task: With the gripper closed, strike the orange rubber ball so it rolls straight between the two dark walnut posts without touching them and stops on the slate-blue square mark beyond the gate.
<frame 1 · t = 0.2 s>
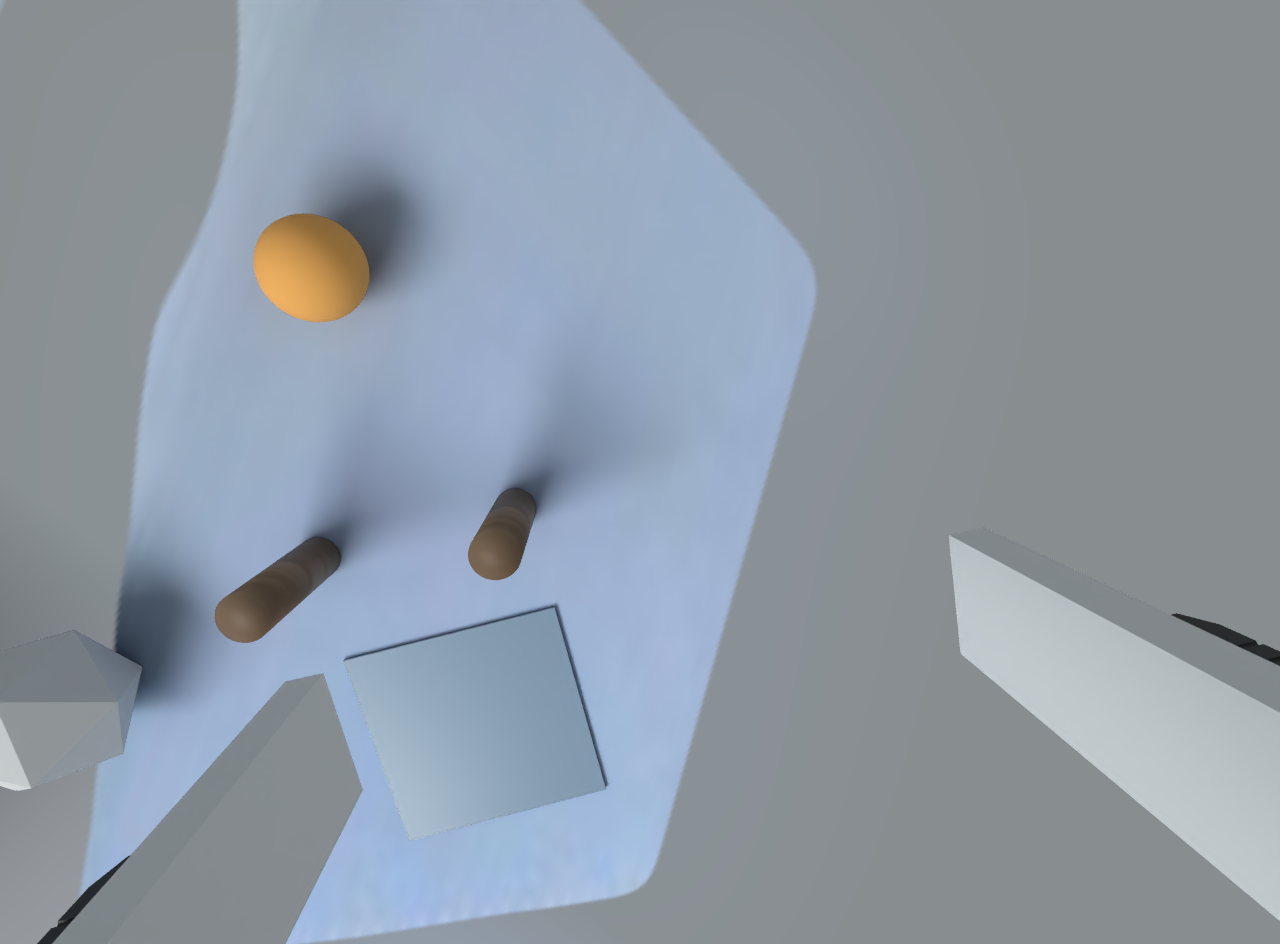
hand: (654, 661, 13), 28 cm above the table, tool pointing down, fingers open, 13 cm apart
ball: (313, 269, 34), on the table
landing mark: (480, 726, 43), on the table
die: (98, 674, 41), on the table
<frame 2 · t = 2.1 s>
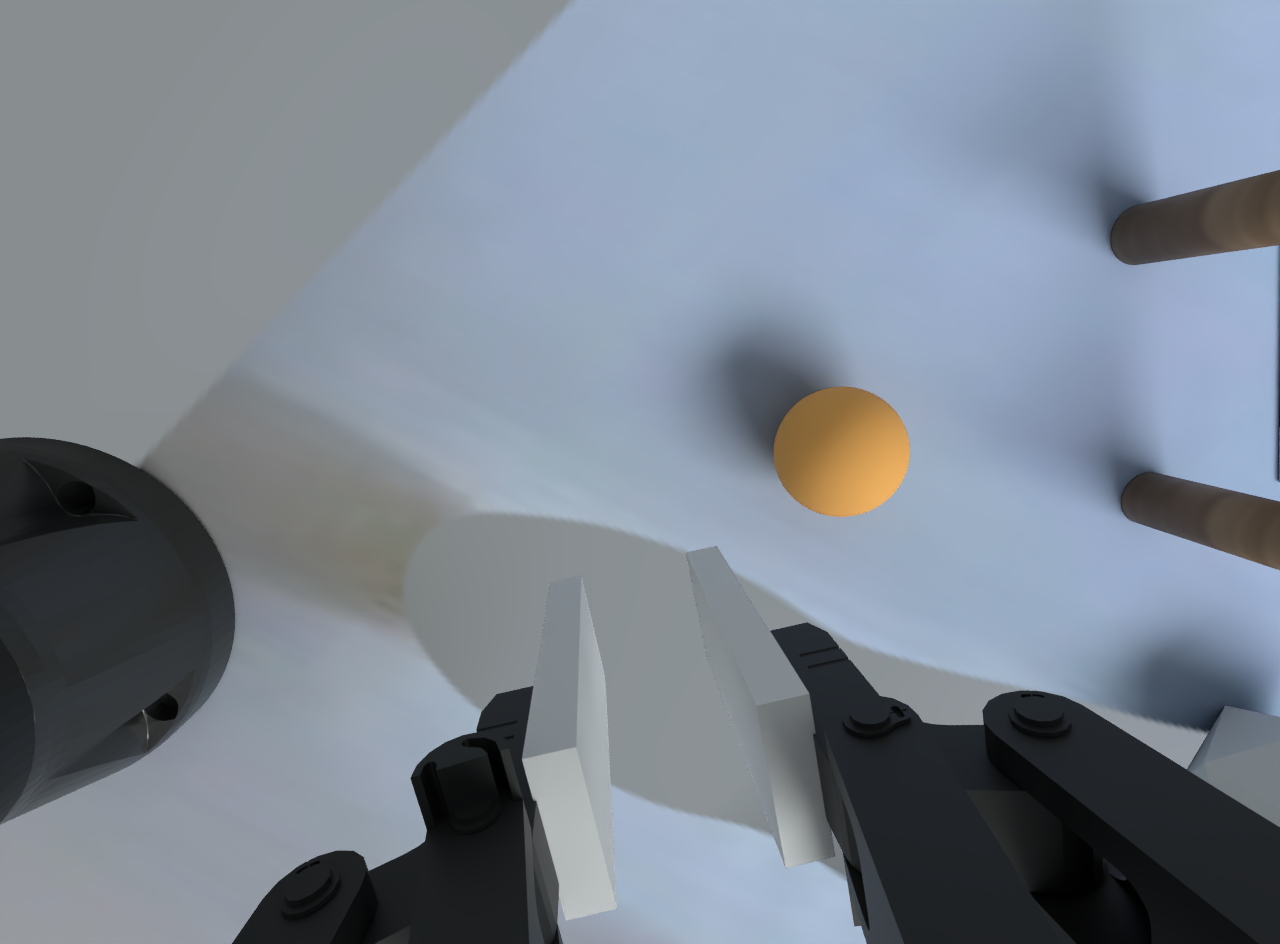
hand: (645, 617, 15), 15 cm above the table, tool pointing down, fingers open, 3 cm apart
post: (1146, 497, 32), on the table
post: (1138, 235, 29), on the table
ball: (839, 451, 27), on the table
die: (1219, 750, 35), on the table
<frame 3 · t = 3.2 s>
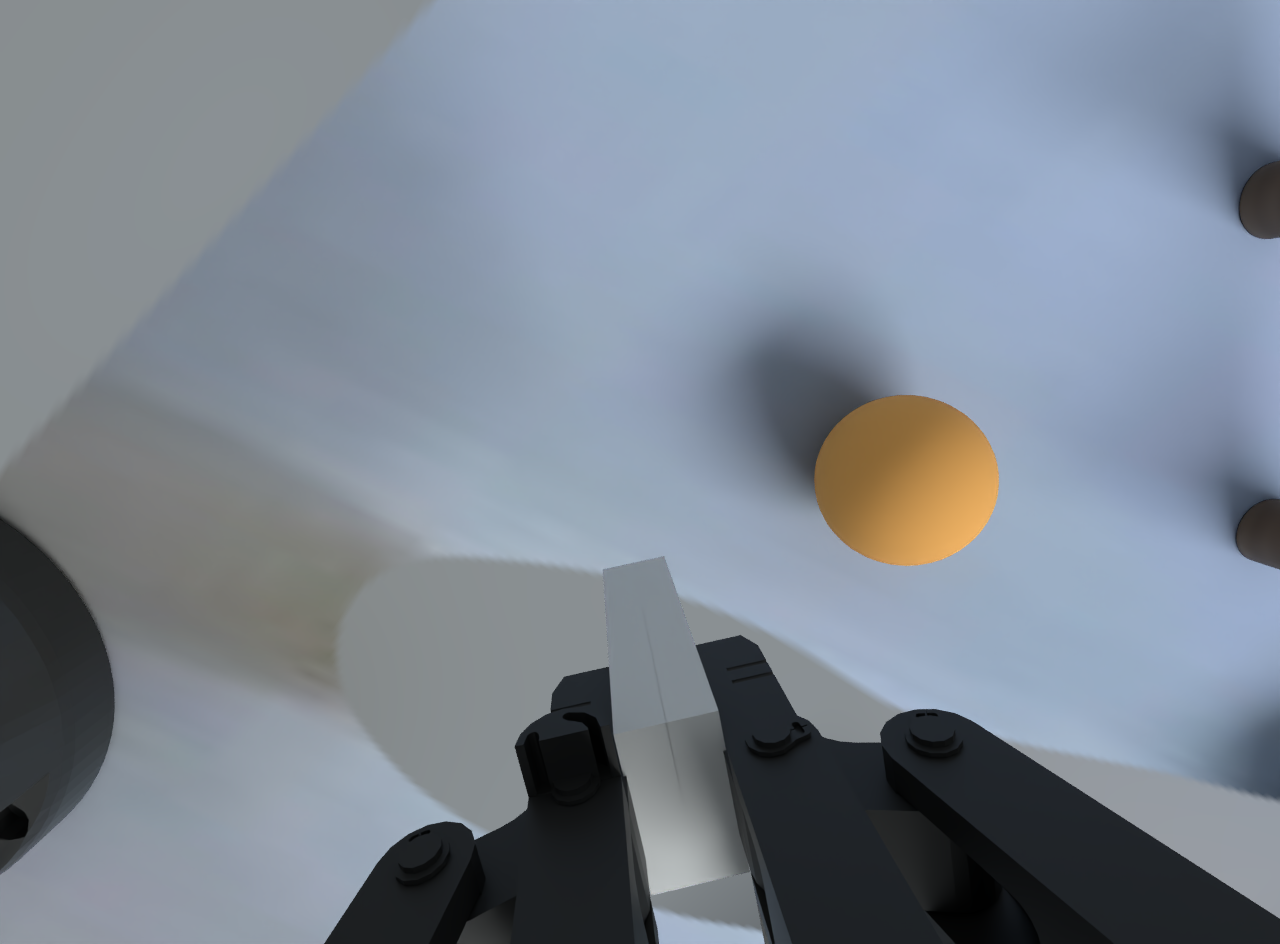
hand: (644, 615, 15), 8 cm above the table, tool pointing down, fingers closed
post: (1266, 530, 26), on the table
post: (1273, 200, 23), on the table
ball: (901, 480, 21), on the table
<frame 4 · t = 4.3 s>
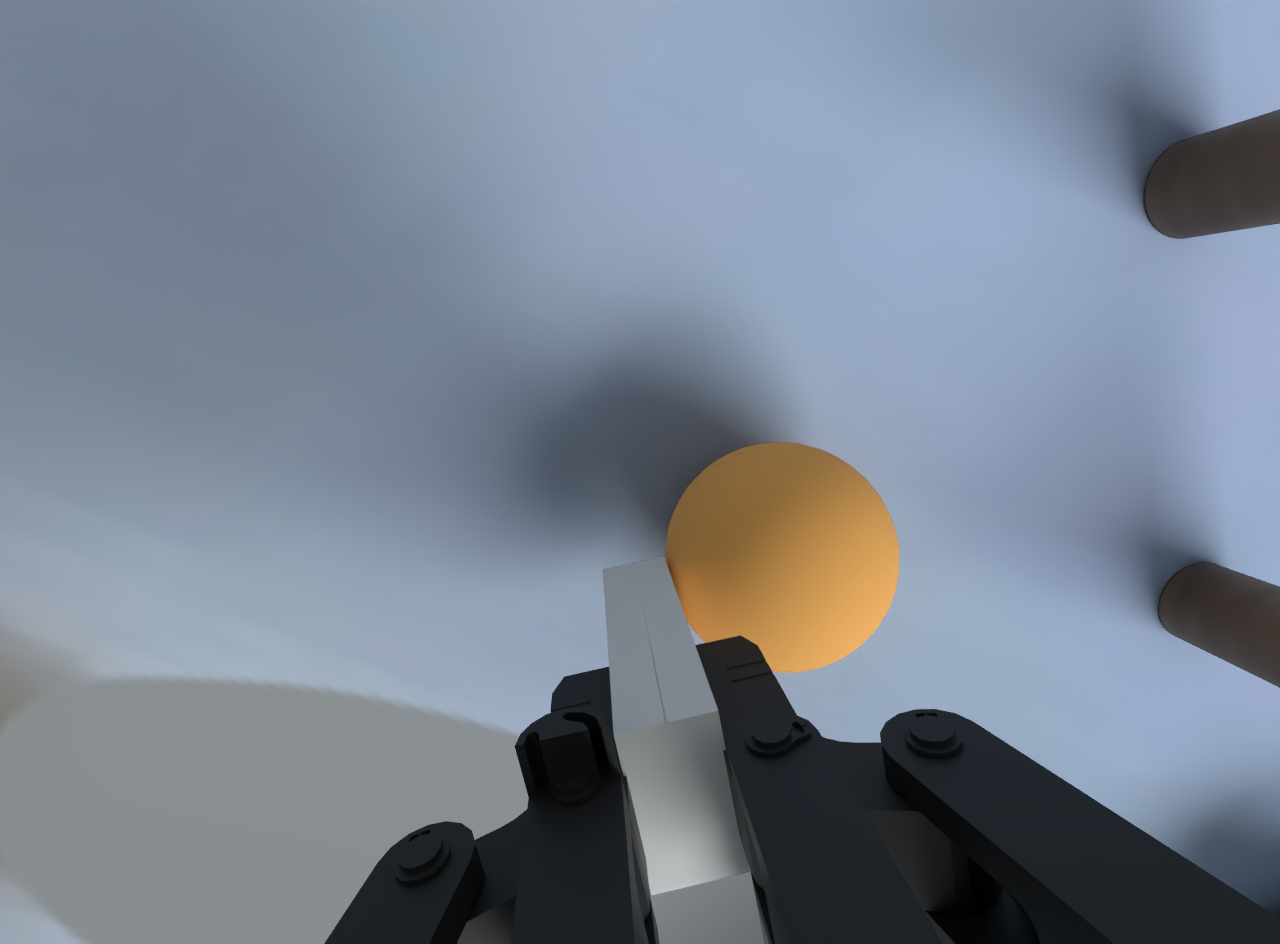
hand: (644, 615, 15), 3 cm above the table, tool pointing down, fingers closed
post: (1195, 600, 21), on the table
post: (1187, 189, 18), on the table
ball: (777, 554, 16), on the table
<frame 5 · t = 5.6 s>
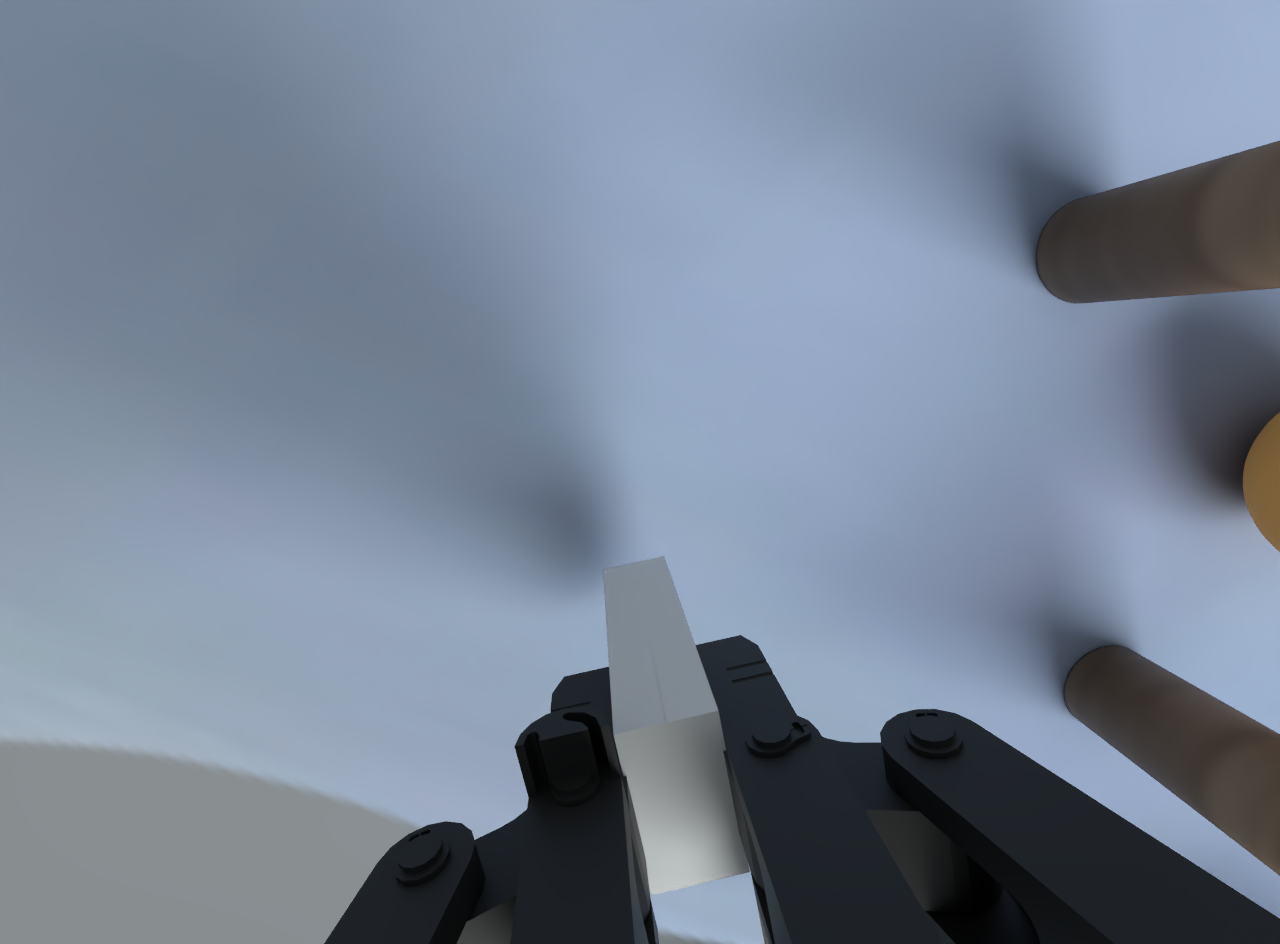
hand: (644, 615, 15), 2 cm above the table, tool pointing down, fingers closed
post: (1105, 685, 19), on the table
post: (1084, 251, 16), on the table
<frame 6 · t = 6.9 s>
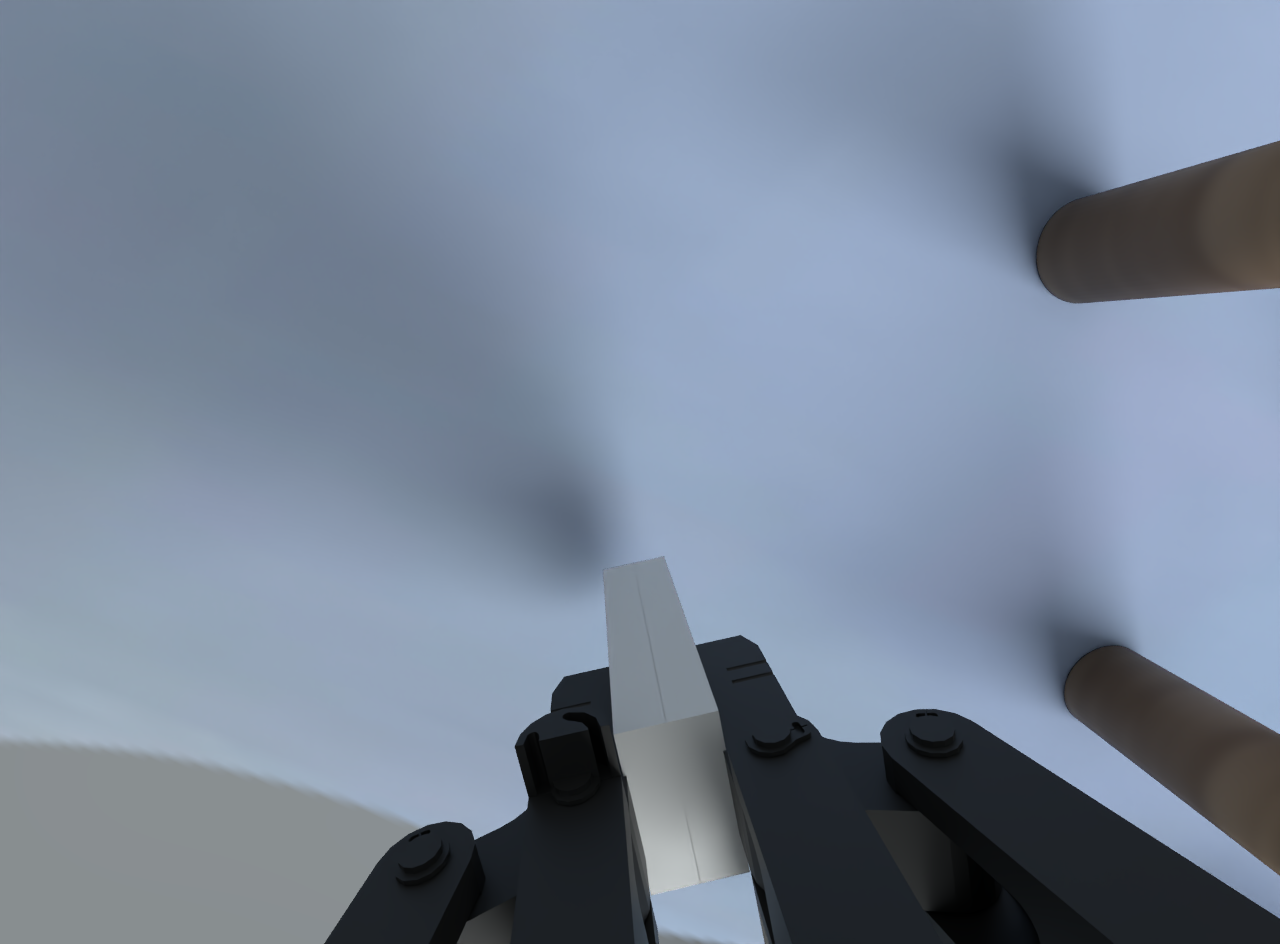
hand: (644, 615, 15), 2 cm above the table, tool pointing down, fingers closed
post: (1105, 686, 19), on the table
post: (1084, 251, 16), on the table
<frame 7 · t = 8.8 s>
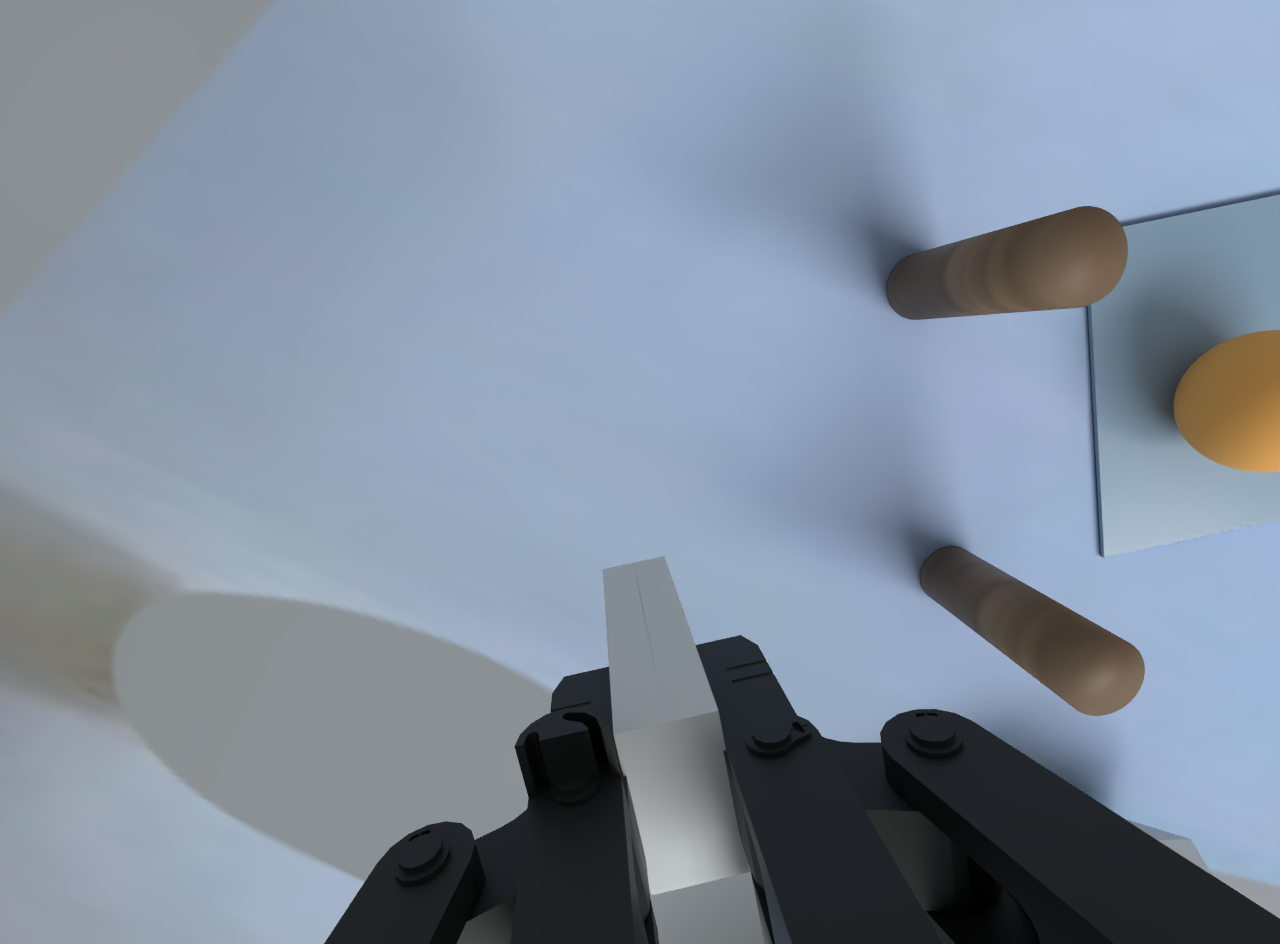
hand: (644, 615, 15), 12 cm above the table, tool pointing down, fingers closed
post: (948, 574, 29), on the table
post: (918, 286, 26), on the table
ball: (1265, 401, 25), on the table
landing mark: (1250, 370, 27), on the table
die: (1054, 845, 32), on the table
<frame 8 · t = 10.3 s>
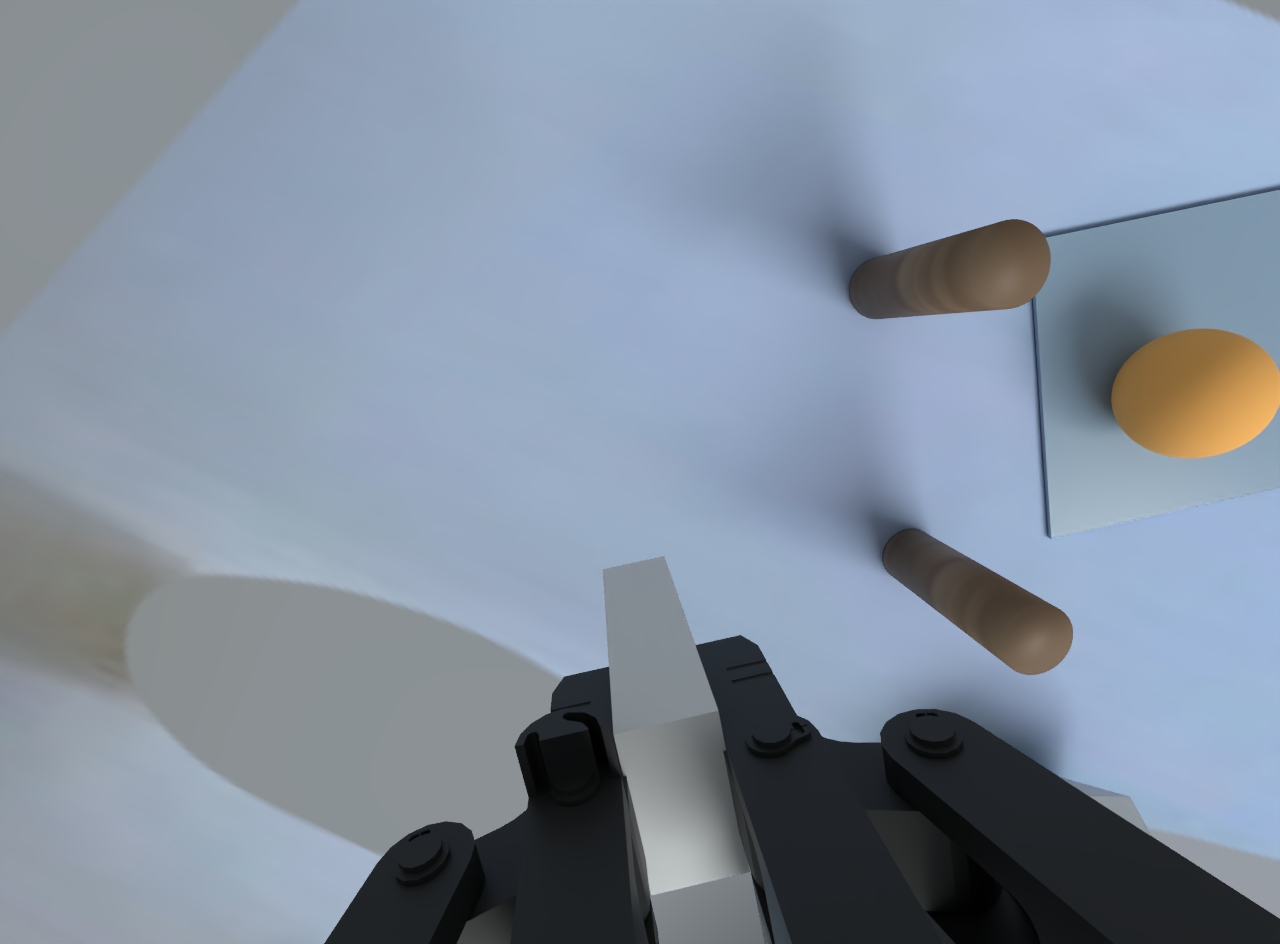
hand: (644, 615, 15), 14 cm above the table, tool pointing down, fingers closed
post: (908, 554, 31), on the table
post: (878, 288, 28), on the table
ball: (1191, 394, 27), on the table
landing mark: (1181, 366, 30), on the table
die: (1009, 808, 35), on the table
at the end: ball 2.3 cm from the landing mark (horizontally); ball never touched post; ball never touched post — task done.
